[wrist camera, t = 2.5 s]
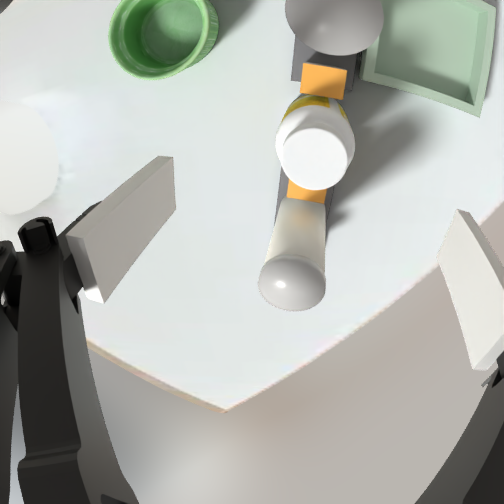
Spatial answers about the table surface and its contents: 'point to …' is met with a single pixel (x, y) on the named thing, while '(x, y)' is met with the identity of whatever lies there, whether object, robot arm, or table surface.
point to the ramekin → (161, 35)
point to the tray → (434, 50)
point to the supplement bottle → (315, 142)
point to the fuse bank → (290, 194)
